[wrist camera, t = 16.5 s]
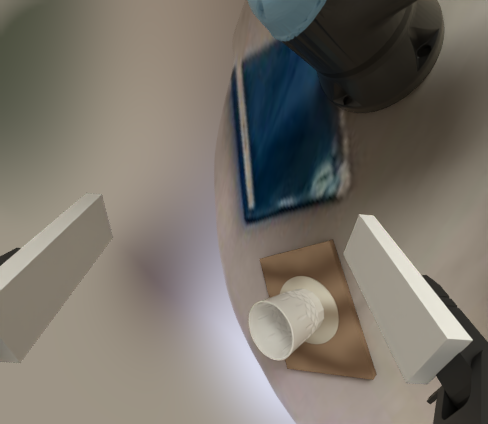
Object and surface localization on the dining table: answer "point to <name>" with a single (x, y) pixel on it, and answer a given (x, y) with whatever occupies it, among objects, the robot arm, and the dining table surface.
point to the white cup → (285, 322)
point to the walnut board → (335, 311)
